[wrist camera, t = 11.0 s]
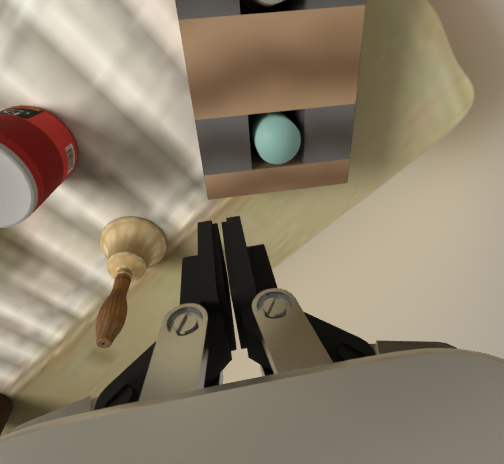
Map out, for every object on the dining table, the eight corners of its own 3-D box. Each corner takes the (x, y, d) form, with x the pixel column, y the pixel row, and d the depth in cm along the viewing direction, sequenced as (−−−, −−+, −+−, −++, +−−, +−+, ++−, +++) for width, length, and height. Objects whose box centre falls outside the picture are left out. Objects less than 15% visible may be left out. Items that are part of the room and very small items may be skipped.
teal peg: (245, 105, 32) (254, 121, 26) (283, 102, 32) (301, 116, 27) (248, 144, 34) (257, 166, 29) (284, 140, 35) (300, 161, 29)
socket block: (167, -89, 25) (153, -134, 18) (335, -98, 26) (380, -144, 19) (207, 169, 37) (208, 199, 30) (322, 156, 38) (347, 182, 31)
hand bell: (160, 213, 39) (137, 305, 26) (171, 265, 44) (156, 366, 30) (92, 219, 39) (32, 316, 25) (110, 271, 43) (67, 377, 30)
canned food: (38, 88, 30) (-34, 112, 21) (96, 157, 35) (57, 202, 25) (-21, 127, 32) (-114, 165, 22) (43, 190, 36) (-13, 243, 27)
